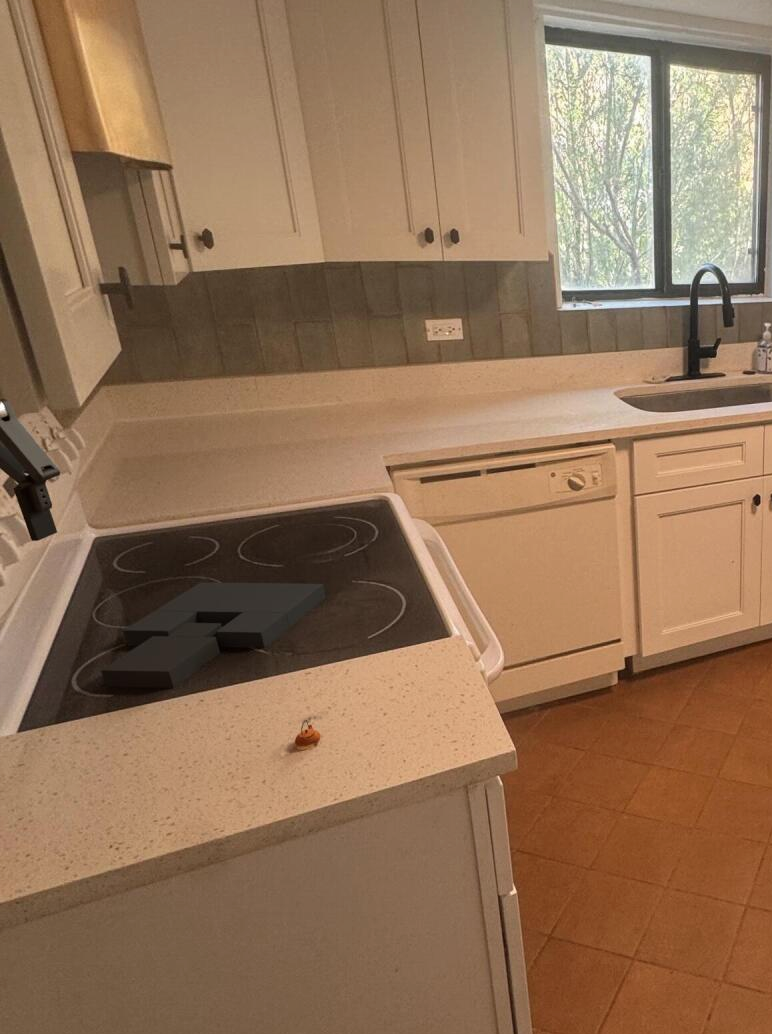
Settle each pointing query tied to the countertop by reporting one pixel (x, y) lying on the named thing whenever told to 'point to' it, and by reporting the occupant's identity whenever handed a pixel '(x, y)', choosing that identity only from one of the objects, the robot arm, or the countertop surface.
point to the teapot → (307, 738)
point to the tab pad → (165, 658)
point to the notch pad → (232, 612)
